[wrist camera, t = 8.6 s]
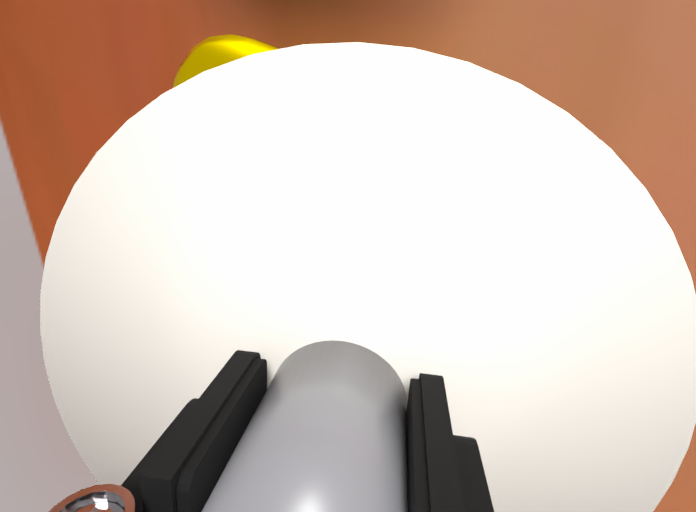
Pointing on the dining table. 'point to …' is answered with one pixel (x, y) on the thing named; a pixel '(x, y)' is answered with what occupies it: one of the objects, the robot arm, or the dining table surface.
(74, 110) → the dining table surface
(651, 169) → the dining table surface
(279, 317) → the lid
